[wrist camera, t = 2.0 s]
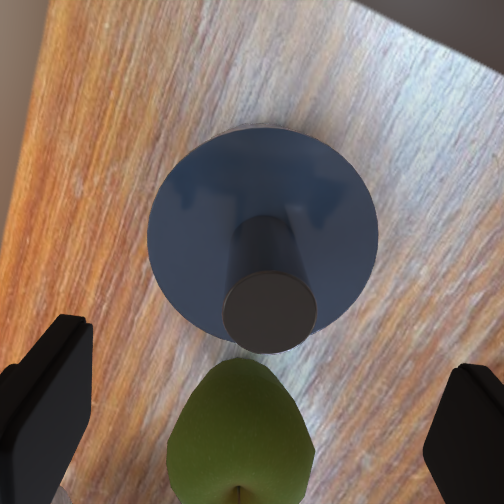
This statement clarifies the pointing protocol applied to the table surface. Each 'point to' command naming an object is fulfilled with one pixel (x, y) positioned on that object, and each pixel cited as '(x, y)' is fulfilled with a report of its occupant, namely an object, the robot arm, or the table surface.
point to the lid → (262, 237)
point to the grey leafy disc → (61, 497)
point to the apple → (240, 440)
